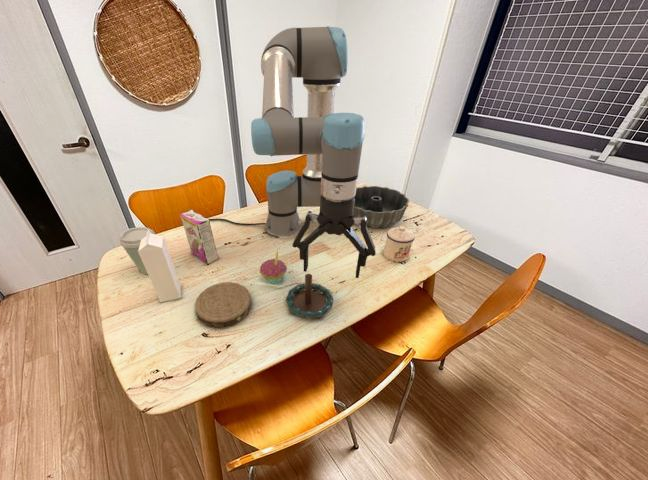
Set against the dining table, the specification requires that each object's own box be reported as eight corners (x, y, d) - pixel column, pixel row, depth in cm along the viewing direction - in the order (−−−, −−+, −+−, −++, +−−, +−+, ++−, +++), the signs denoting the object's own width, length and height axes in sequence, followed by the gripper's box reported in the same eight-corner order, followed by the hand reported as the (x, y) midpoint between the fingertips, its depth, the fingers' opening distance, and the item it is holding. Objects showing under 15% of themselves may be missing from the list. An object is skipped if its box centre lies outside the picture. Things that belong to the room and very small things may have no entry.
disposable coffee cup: (159, 256, 103) (145, 220, 94) (172, 269, 97) (159, 232, 88) (129, 269, 97) (112, 232, 88) (141, 283, 91) (124, 245, 82)
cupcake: (291, 275, 93) (290, 245, 86) (279, 291, 87) (277, 260, 80) (268, 269, 96) (266, 240, 89) (256, 284, 90) (252, 254, 83)
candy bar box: (190, 253, 105) (178, 214, 95) (202, 247, 107) (191, 209, 97) (207, 265, 99) (196, 224, 88) (219, 259, 101) (210, 219, 91)
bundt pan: (373, 241, 109) (378, 218, 103) (330, 215, 126) (332, 194, 120) (416, 222, 120) (423, 200, 114) (372, 201, 138) (375, 181, 132)
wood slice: (186, 309, 82) (183, 302, 80) (229, 282, 91) (227, 275, 89) (218, 338, 73) (216, 331, 71) (262, 305, 82) (261, 298, 81)
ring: (280, 313, 78) (280, 309, 77) (293, 283, 88) (293, 278, 87) (328, 323, 75) (328, 318, 74) (335, 290, 85) (336, 286, 84)
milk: (160, 302, 84) (132, 241, 71) (161, 289, 89) (135, 230, 75) (181, 298, 86) (157, 237, 72) (181, 285, 90) (159, 226, 76)
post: (289, 313, 80) (288, 284, 73) (296, 292, 87) (295, 264, 80) (320, 318, 78) (322, 289, 71) (324, 296, 85) (327, 267, 78)
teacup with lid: (394, 265, 96) (402, 237, 89) (377, 252, 103) (382, 224, 96) (419, 256, 101) (428, 228, 93) (401, 244, 107) (408, 216, 100)
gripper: (277, 198, 59) (281, 274, 72) (399, 207, 55) (380, 287, 68) (285, 185, 65) (288, 257, 78) (396, 192, 60) (379, 268, 74)
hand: (331, 271), depth 73 cm, fingers open, 13 cm apart
